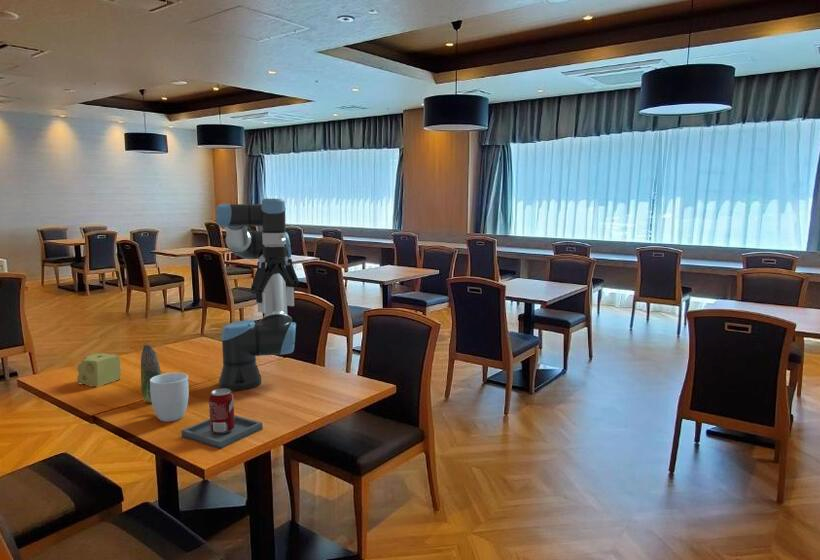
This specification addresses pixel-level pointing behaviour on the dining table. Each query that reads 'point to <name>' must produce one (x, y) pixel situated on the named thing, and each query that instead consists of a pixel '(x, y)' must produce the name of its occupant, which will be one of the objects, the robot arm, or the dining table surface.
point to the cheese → (99, 369)
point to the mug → (169, 395)
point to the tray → (220, 441)
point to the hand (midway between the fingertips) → (276, 309)
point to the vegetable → (148, 370)
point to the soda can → (221, 411)
